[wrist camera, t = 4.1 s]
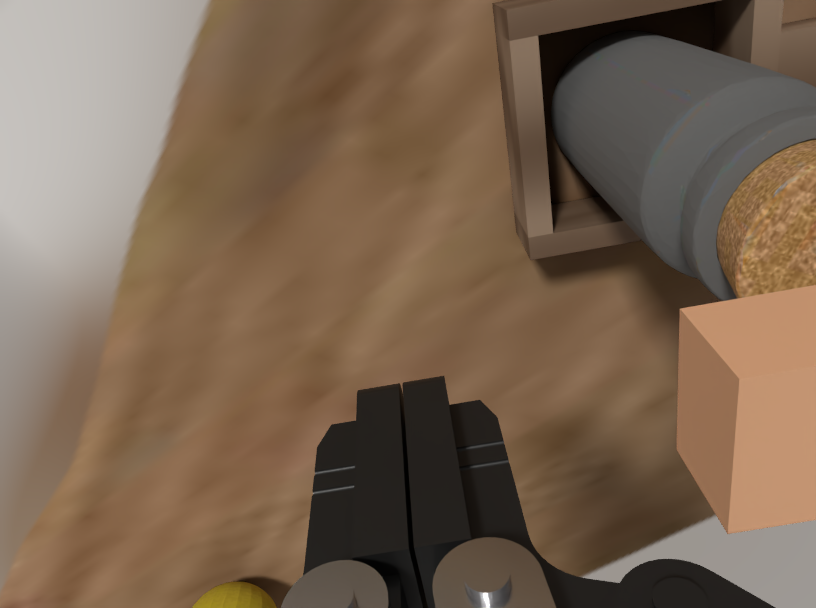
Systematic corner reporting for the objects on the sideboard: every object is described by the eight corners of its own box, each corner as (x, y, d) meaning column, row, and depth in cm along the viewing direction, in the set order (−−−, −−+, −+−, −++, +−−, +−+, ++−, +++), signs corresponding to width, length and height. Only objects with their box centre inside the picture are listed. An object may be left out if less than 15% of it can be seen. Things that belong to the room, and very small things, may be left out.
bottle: (621, 200, 29) (824, 407, 16) (520, 123, 28) (656, 285, 14) (720, 87, 27) (1046, 221, 14) (618, -4, 26) (883, 51, 12)
